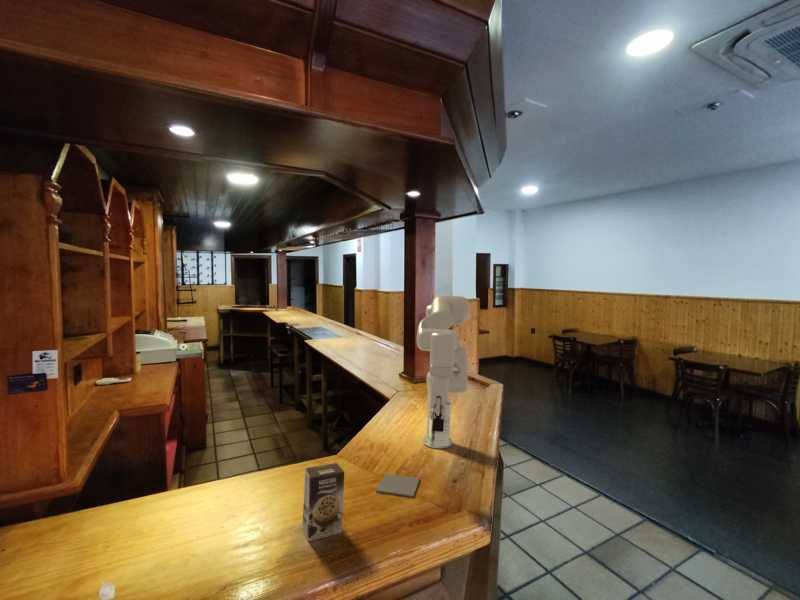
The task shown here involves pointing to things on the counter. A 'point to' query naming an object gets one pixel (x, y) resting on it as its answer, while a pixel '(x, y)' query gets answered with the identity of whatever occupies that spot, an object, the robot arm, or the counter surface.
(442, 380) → the robot arm
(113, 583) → the counter surface
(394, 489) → the mat
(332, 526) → the cookie box
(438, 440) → the syrup box
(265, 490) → the counter surface
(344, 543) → the counter surface
